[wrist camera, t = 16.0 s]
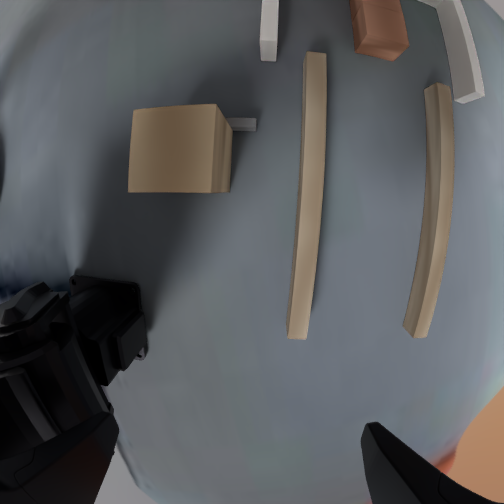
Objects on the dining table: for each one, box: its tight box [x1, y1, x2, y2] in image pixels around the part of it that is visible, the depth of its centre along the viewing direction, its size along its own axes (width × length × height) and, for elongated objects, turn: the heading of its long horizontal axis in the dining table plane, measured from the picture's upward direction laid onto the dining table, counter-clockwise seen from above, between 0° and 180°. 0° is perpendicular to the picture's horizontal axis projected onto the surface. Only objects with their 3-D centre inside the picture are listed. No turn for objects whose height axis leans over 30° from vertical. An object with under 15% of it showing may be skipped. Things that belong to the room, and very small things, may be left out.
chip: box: [349, 0, 403, 21], centre depth 13 cm, size 3×3×3 cm
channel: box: [286, 51, 454, 339], centre depth 16 cm, size 10×18×2 cm, turn 177°
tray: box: [260, 0, 485, 104], centre depth 13 cm, size 16×11×3 cm
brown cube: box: [352, 2, 409, 61], centre depth 13 cm, size 3×3×3 cm
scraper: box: [128, 104, 257, 193], centre depth 14 cm, size 7×5×6 cm, turn 87°
